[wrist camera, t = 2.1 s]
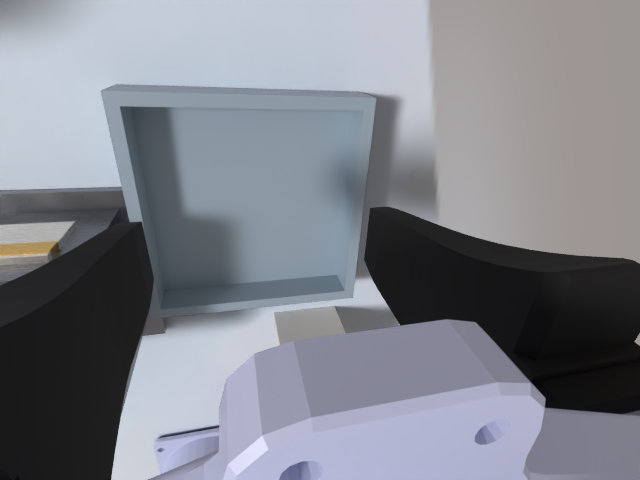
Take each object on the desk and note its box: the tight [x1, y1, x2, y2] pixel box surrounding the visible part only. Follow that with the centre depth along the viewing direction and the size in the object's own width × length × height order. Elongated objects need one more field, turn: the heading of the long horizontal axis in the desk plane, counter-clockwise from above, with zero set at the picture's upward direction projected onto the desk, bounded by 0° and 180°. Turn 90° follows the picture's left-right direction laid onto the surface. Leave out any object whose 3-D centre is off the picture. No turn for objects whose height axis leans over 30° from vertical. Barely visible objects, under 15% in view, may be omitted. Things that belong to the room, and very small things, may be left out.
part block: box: [274, 306, 346, 347], centre depth 25 cm, size 5×5×6 cm
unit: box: [0, 187, 166, 410], centre depth 17 cm, size 10×10×8 cm
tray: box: [101, 84, 376, 319], centre depth 20 cm, size 12×12×2 cm
